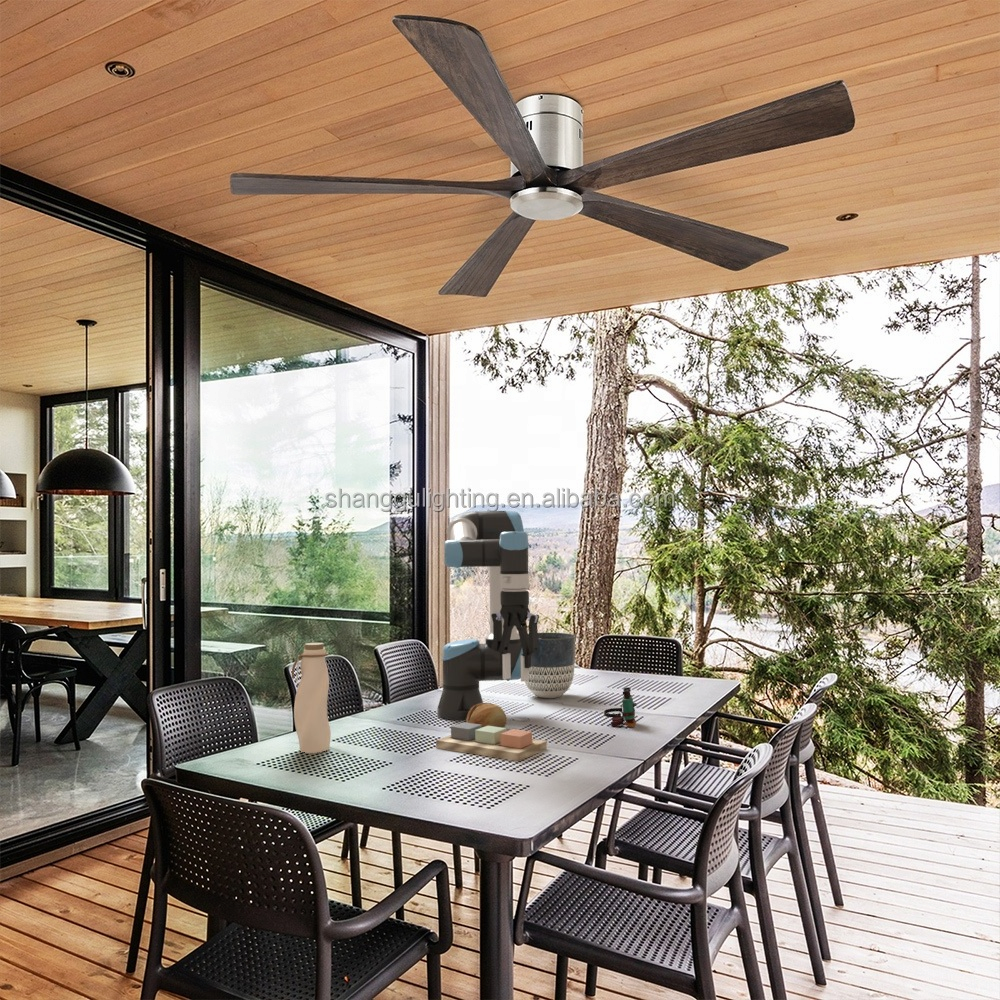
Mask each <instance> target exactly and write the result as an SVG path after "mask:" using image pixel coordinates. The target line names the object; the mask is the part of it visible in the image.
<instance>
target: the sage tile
mask: <svg viewBox="0 0 1000 1000" xmlns="http://www.w3.org/2000/svg"><path fill="white" fill-rule="evenodd" d="M507 731H508V730H507V728H506V727H504V728H501V727H494V726H485V727H483V728H480V729H477V730H475V742H481V743H487V744H490V745H493V744H497V743H499V742H501V733H504V732H507Z"/></svg>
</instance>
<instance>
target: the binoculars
mask: <svg viewBox="0 0 1000 1000" xmlns="http://www.w3.org/2000/svg"><path fill="white" fill-rule="evenodd" d="M631 691H632V690H631V687H629V686H628V687H627V686H626V687H624V688H623V691H622V696H623V698H622V705H621V706H620V707H612V708H606V709H605V710H603V716H604V717H606V718H611V721H610V724H611V725H610V726H611V727H617V726H621V725H622V726H626V727H628V728H635V727H636V721H637V720H636V717H635V714H636V713H635V712H636V710H635V707H636V706H638V705H637V703H636V702H634V699H633V695H632V694H631ZM612 712H613V713H612ZM614 712H618V713H614Z"/></svg>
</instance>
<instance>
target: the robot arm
mask: <svg viewBox="0 0 1000 1000" xmlns="http://www.w3.org/2000/svg"><path fill="white" fill-rule="evenodd" d="M446 538H447V540H445V541H444V547H443V548H444V565H445V566H446V567H447V568H457V569H459V568H468V567H469V568H475V567H478V568H479V567H481V568H482V567H483V568H484V567H485V568H487V567H488V569H489V576H488V577H489V579H488V580H489V633H488V634H487V636H486V637H485V643H480V641H479V639H477V638H472V639H461V640H456V641H451V642H448V643H446V644H445V645H444V646H443V648H442V658H441V661H442V691H441V695H440V698H439V702H438V706H437V710H436V711H437V712H436V714H437V717H438V718H441V719H445V720H458V721H459V720H461V721H462V720H466V719H467V715H468V712H469V710H470V709H471V708H472V707H473V706H474V705H477V704H480V703H484V701H483V698H482V694H481V691H480V682H490V681H491V682H492V681H494V682H495V681H507V682H509V681H516V680H520V682H524V683H525V681H527V680H529V668H531V655H532V654H534V653H537V652H538V633H539V632H538V622H539V620H540V616H539V614H534V613H532V612H530V609H529V605H530V593H529V591H528V590H529V588H530V579H529V547H530V543H529V534H528V533H527V532H526V531H524V524H523V520H522V517H521V514H520V512H518V511H517V510H516V511H514V510H486V511H484V510H483V511H482V510H480V511H477V510H475V511H474V510H473V511H468V512H465V513H462V514H459V515H458V516H456V517H455V518H453V519H452V520H451V521H450V522H449V524H448V525H447V528H446ZM527 621H528V623H527ZM528 634H529V637H528Z"/></svg>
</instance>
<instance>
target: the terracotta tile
mask: <svg viewBox="0 0 1000 1000" xmlns="http://www.w3.org/2000/svg"><path fill="white" fill-rule="evenodd" d="M532 739H533V731H530V730H529V731H528V730H522V729H513V728H512V729H510V730H507V732H504V733H501V746H507V747H513V748H516V749H519V748H520V749H521V748H523V747H525V746H528V745H530V744H532Z"/></svg>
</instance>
